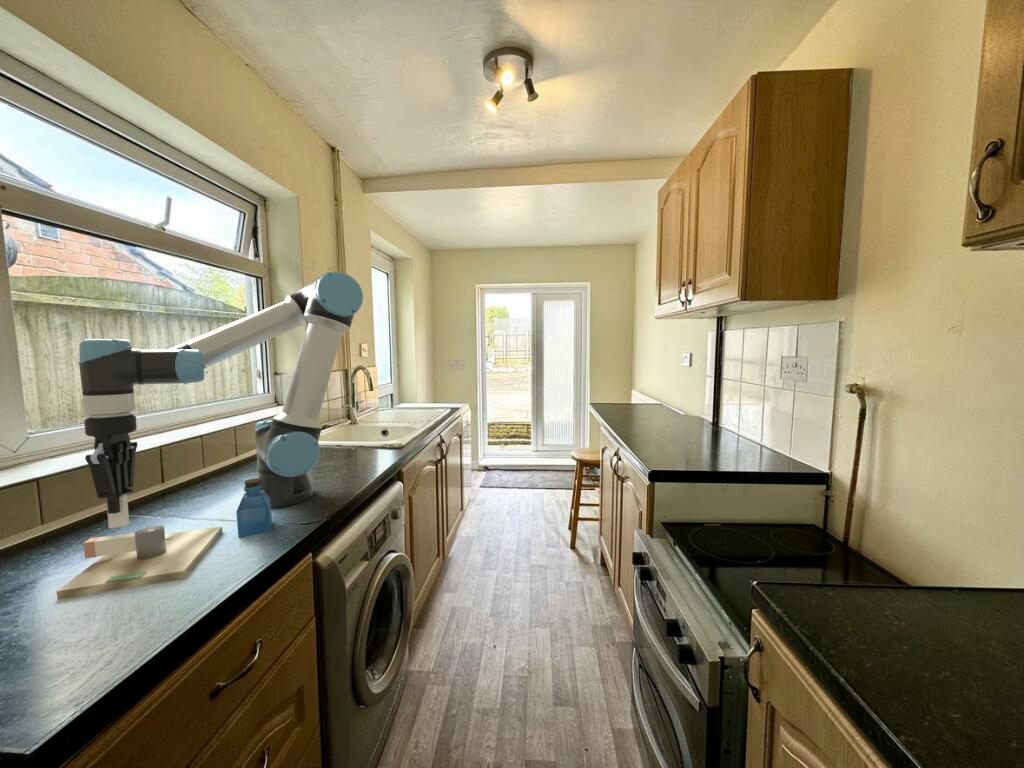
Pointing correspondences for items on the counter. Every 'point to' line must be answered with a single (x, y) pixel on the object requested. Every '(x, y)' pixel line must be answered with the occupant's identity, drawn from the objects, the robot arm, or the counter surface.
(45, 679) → the counter surface
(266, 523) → the perfume bottle
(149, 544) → the hammer
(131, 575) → the board
